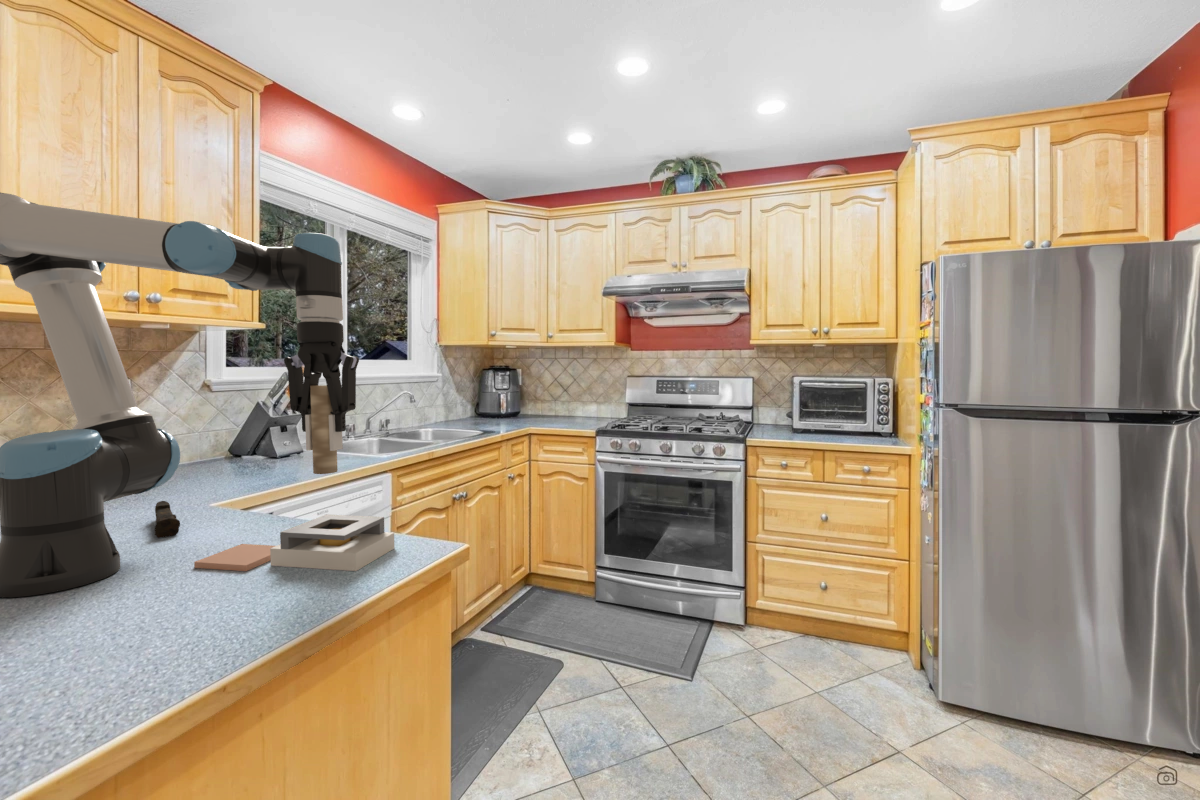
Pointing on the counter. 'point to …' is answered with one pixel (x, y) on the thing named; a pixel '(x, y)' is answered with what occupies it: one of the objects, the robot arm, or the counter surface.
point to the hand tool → (165, 520)
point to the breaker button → (333, 541)
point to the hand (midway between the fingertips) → (324, 449)
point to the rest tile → (237, 558)
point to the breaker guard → (307, 552)
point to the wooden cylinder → (321, 431)
